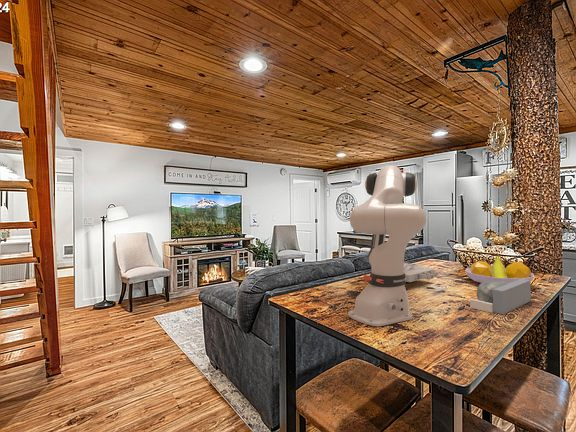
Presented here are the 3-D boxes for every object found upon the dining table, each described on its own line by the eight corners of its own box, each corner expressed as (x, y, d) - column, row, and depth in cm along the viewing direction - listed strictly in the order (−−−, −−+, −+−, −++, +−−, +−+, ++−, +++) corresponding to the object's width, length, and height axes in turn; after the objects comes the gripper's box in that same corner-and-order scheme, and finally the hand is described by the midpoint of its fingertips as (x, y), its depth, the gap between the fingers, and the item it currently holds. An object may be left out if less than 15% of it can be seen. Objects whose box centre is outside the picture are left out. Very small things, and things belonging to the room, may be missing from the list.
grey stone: (488, 287, 120) (496, 269, 115) (512, 303, 113) (522, 284, 107) (466, 299, 115) (473, 281, 110) (489, 317, 108) (498, 298, 103)
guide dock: (501, 315, 98) (501, 291, 98) (470, 307, 106) (469, 285, 106) (531, 300, 112) (531, 279, 112) (502, 294, 121) (501, 275, 120)
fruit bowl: (525, 296, 118) (525, 268, 117) (455, 283, 139) (454, 260, 139) (544, 284, 134) (544, 259, 134) (478, 274, 156) (478, 253, 156)
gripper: (391, 268, 139) (418, 273, 127) (417, 263, 149) (444, 267, 138) (392, 281, 139) (418, 288, 127) (417, 275, 150) (444, 280, 138)
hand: (431, 277), depth 132 cm, fingers closed
